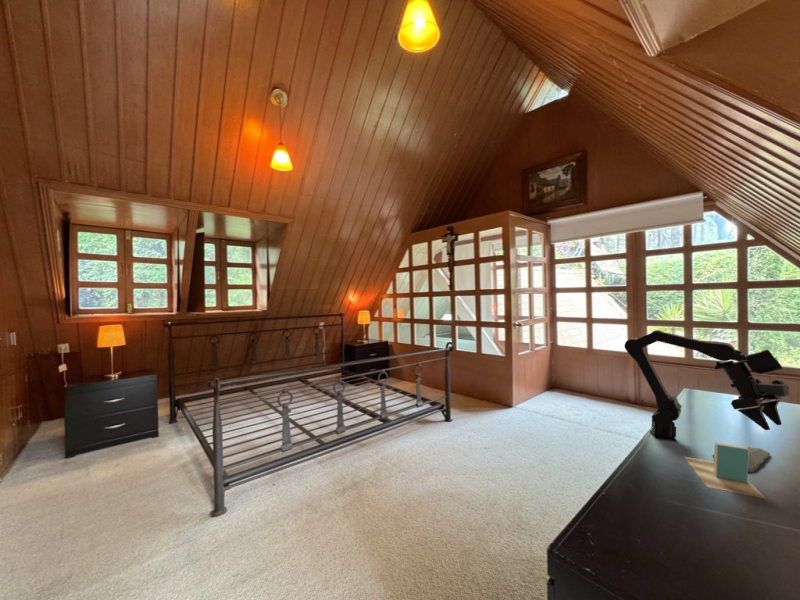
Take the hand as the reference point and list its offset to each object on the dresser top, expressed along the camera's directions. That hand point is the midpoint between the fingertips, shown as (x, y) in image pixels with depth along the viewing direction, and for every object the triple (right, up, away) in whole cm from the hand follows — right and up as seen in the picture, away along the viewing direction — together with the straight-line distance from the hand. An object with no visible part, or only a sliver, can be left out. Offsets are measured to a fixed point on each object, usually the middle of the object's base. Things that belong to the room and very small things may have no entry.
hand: (773, 427), depth 101 cm
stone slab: (-3, -13, +7) cm, 15 cm away
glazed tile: (-19, -13, -5) cm, 24 cm away
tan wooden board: (-20, -14, -3) cm, 25 cm away
